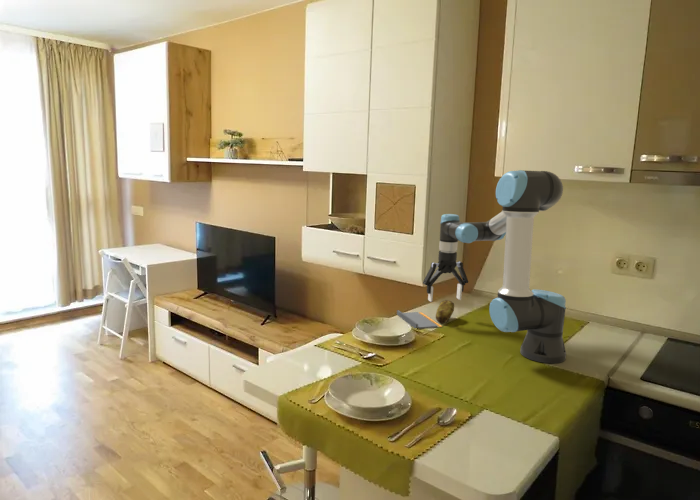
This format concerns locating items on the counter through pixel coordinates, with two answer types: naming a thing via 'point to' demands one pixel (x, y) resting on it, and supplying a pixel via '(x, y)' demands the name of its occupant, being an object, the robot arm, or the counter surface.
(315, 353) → the counter surface
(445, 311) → the potato
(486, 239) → the robot arm
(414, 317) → the mat
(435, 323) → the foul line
